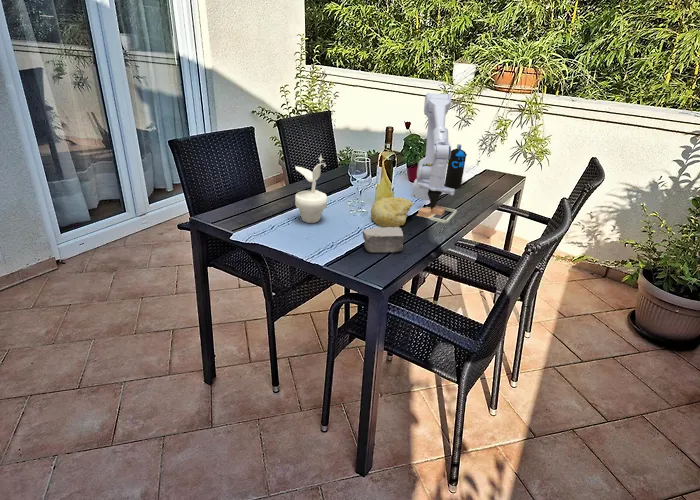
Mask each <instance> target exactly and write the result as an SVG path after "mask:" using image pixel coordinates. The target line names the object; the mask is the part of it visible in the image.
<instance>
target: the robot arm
mask: <svg viewBox="0 0 700 500" xmlns="http://www.w3.org/2000/svg"><path fill="white" fill-rule="evenodd" d="M451 105H452V95H451V94H450V93H433V92H432V93H431V92H427V93H426V94H425V97H424V105H423V114H424V115H425V116H427V133H426V134H427V136H426V145H425V157H423V158H421V159H420V160H419V161H418V163H417V169H416V178H415V180H413V184H412V190H411V197H412V198H417V199H420V200H422V201H423V200H424V201H430V202H429V203H430V207H431V209H433V208H434V207H435V206H436V205H437V203H438V200H439V199H440V197H441V196H442V194H446V195H450V196H454V195H455V192H456V191H455V190H456V189H452V188H448V187H445V186H444V184H445V179H446V173H447V166H448V160H449V159H450V155H451V151H452V145H451V143H450V142H449V129H448V128H447V127H446V116H447V115H448V112H449V110H450V108H451Z"/></svg>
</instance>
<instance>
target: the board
mask: <svg viewBox="0 0 700 500" xmlns="http://www.w3.org/2000/svg"><path fill="white" fill-rule="evenodd" d="M424 208H427V209H431V206H425V207H424ZM431 210H432V209H431ZM416 216H418V217H423V216H419V215H418V213H417V214H416ZM434 216H436V214H434V213H432V211H431V215H430V216H429V217H423V218H427V219H429V220H430V217H434Z"/></svg>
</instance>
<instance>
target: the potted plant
mask: <svg viewBox="0 0 700 500" xmlns="http://www.w3.org/2000/svg"><path fill="white" fill-rule="evenodd" d="M317 159H318V160H319V164H316V165H315V167H314V168H313V171H311V170H310V169H307V168H305V167H302V166H296V165H294V168H295V170H296V172H298V173H300V174H301V175H302V176H304V178H305V179H306V181H308V182H309V183H311V188H310V189H311V190H302V191H298V192H297V193H296V194H295V195H294V196H295V197H294V198H295V200H294V201H295V204H294V205H295V207H296V208H297V209H298V212H299V214H300V216H301V220H302V221H303V222H304V223H307V224H315V223H317V222H319V221H320V220H321V218H322V214H323V213H324V210H325V209H326V208H327V206H328V195H327V194H326V193H324V192H322V191H319V190H318V189H316V187H317V180H318V179H319V178H320V177H321V171H322V169H321V166H322V165H323V167H324V168H325V167H326V166H327V164H326V163H325V162H322V161H323V160H325V159H324V158H323V157H322V155H319V157H318V158H317Z"/></svg>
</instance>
